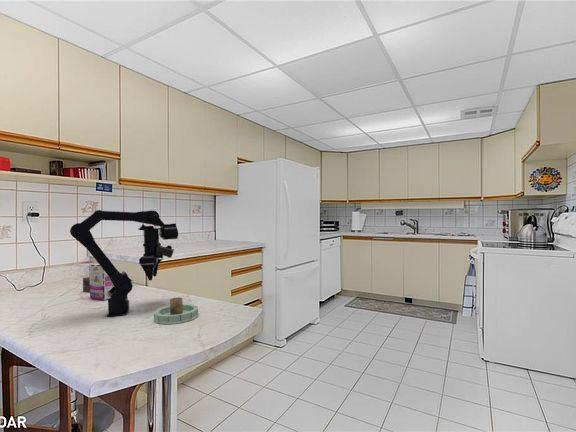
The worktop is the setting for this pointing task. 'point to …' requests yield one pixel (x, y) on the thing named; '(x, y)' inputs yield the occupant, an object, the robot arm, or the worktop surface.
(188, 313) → the dish
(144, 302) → the worktop surface
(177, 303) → the brown cylinder
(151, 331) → the worktop surface
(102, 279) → the candy bar box
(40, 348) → the worktop surface
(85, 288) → the box
